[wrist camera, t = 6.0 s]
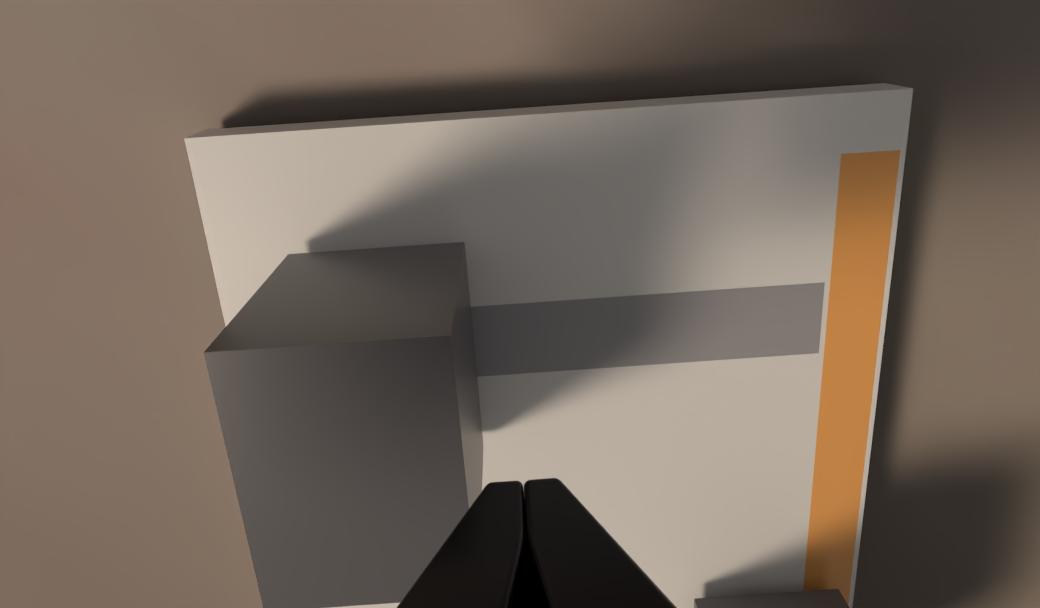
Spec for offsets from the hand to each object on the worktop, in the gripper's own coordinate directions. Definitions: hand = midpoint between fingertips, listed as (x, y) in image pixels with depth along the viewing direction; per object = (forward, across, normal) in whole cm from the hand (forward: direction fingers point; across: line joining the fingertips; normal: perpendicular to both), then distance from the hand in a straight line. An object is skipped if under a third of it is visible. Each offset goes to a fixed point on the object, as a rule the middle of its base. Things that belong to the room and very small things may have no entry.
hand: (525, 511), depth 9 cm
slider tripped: (+5, +2, 0) cm, 6 cm away
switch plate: (+6, -1, +4) cm, 8 cm away
